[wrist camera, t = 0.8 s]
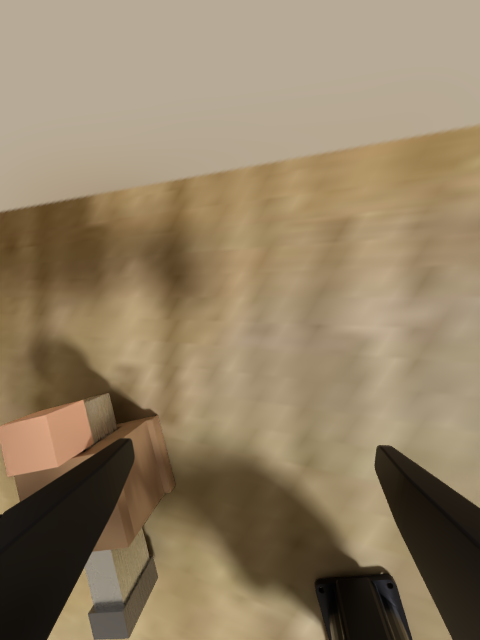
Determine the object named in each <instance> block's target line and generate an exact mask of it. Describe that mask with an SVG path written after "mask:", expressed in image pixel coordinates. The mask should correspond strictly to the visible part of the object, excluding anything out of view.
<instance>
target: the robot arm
mask: <svg viewBox="0 0 480 640" xmlns="http://www.w3.org/2000/svg"><path fill="white" fill-rule="evenodd" d="M134 460H135V453H134V447H133V442H132V439H131V438H119V439H118V440H116V441H114V442H113V443H111V444H110V445H108V446H107V447H105V448H104V449H102V450H100V451H99V452H97V453H96V454H94V455H93V456H91V457H90V458H88V459H86V460H85V461H83V462H82V463H80V464H79V465H77V466H75V467H74V468H72V469H71V470H69V471H68V472H66V473H65V474H63V475H61V476H60V477H58V478H57V479H55V480H54V481H52V482H50V483H49V484H47V485H46V486H44V487H43V488H41V489H40V490H38V491H36V492H35V493H33V494H32V495H30V496H29V497H27V498H25V499H24V500H22V501H21V502H19V503H18V504H16V505H15V506H13V507H11V508H10V509H8V510H7V511H5V512H4V513H3V515H2V514H1V515H0V640H47V639H48V637H49V635H50V633H51V631H52V629H53V627H54V625H55V623H56V621H57V619H58V617H59V615H60V613H61V612H62V610H63V608H64V606H65V604H66V602H67V600H68V598H69V596H70V594H71V592H72V590H73V588H74V586H75V584H76V582H77V581H78V579H79V577H80V575H81V573H82V571H83V569H84V567H85V565H86V563H87V561H88V559H89V557H90V555H91V553H92V551H93V550H94V548H95V546H96V544H97V542H98V540H99V538H100V536H101V534H102V532H103V530H104V528H105V526H106V524H107V522H108V521H109V519H110V517H111V515H112V513H113V511H114V509H115V506H116V504H117V502H118V500H119V497H120V495H121V492H122V490H123V488H124V485H125V483H126V480H127V478H128V476H129V473H130V471H131V468H132V466H133V463H134ZM375 471H376V474H377V476H378V479H379V481H380V484H381V486H382V489H383V492H384V494H385V497H386V499H387V502H388V504H389V507H390V510H391V512H392V515H393V517H394V520H395V522H396V524H397V526H398V529H399V531H400V533H401V535H402V537H403V539H404V541H405V543H406V545H407V547H408V549H409V551H410V553H411V555H412V557H413V559H414V562H415V564H416V566H417V568H418V570H419V572H420V574H421V576H422V578H423V580H424V582H425V584H426V586H427V588H428V590H429V592H430V594H431V596H432V598H433V600H434V602H435V604H436V606H437V608H438V610H439V613H440V615H441V617H442V619H443V621H444V623H445V625H446V627H447V629H448V631H449V633H450V635H451V637H452V639H453V640H480V508H479V507H477V506H476V505H475V504H473V503H472V502H470V501H469V500H467V499H466V498H465V497H463V496H462V495H460V494H459V493H458V492H456V491H455V490H453V489H452V488H450V487H449V486H448V485H446V484H445V483H443V482H442V481H440V480H439V479H438V478H436V477H435V476H433V475H432V474H430V473H429V472H428V471H426V470H425V469H423V468H422V467H420V466H419V465H418V464H416V463H415V462H413V461H412V460H411V459H409V458H408V457H406V456H405V455H403V454H402V453H401V452H399V451H398V450H396V449H395V448H393V447H392V446H389V445H379V446H377V449H376V456H375ZM320 587H322V588H320ZM315 589H316V594H317V597H318V601H319V605H320V608H321V612H322V615H323V619H324V623H325V626H326V630H327V633H328V637H329V640H412V636H411V633H410V630H409V626H408V623H407V619H406V616H405V613H404V609H403V606H402V602H401V599H400V596H399V592H398V589H397V585H396V583H395V581H394V579H393V577H392V576H391V575H389V574H381V575H368V576H354V577H341V578H328V579H318V580H316V581H315Z"/></svg>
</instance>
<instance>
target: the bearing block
mask: <svg viewBox="0 0 480 640" xmlns="http://www.w3.org/2000/svg"><path fill="white" fill-rule="evenodd" d="M117 427H118V430H116V431H115V432H113V433H112V434H110V435H109V436H107V437H106V438H104V439H103V440H101V441H100V442H98V443H97V444H95V445H94V446H92V447H91V448H89V449H88V450H86V451H85V452H80V453H78V454H77V455H75V456H74V457H72V458H71V459H69V460H68V461H66V462H65V463H63V464H62V465H60V466H59V467H55V468H50V469H45V470H40V471H35V472H30V473H25V474H20V475H15V476H14V477H15V481H16V486H17V490H18V495H19V499H20V502H21V501H22V500H24V499H25V498H27V497H29V496H30V495H32V494H33V493H35V492H36V491H38V490H40V489H41V488H43V487H44V486H46V485H47V484H49V483H50V482H52V481H54V480H55V479H57V478H58V477H60V476H61V475H63V474H65V473H66V472H68V471H69V470H71V469H72V468H74V467H75V466H77V465H79V464H80V463H82V462H83V461H85V460H86V459H88V458H90V457H91V456H93V455H94V454H96V453H97V452H99V451H100V450H102V449H104V448H105V447H107V446H108V445H110V444H111V443H113V442H114V441H116V440H118V439H119V438H131V439H132V442H133V447H134V453H135V460H134V463H133V466H132V468H131V471H130V473H129V476H128V478H127V480H126V483H125V485H124V488H123V490H122V492H121V495H120V497H119V500H118V502H117V504H116V506H115V509H114V511H113V513H112V515H111V517H110V519H109V521H108V522H107V524H106V526H105V528H104V530H103V532H102V534H101V536H100V538H99V540H98V542H97V544H96V546H95V548H94V550H93V551H92V552H95V551H103V550H112V549H121V548H128V547H129V546H130V544H131V543H132V541H133V540H134V538H135V537H136V535H137V534H138V532H139V531H140V529H141V528H142V526H143V525H144V523H145V522H146V520H147V519H148V518H149V516H150V515H151V513H152V512H153V510H154V509H155V507H156V506H157V504H158V503H159V501H160V500H161V498H162V497H163V495H164V494H165V493H171V491H172V490H173V488H174V487H175V481H174V477H173V473H172V469H171V465H170V461H169V457H168V453H167V449H166V446H165V442H164V438H163V434H162V430H161V426H160V422H159V418H158V415H156V416H151V417H147V418H142V419H138V420H134V421H129V422H125V423H120V424H117Z"/></svg>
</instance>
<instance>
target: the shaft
mask: <svg viewBox="0 0 480 640" xmlns="http://www.w3.org/2000/svg"><path fill="white" fill-rule="evenodd" d="M83 401H84V405H85V409H86V413H87V417H88V421H89V425H90V430H91V434H92V438H93V442H94V444H92V445H91V446H89V447H88V448H86V449H85V450H83V451H82V452H85V451H86V450H88V449H89V448H91V447H92V446H94V445H95V444H97V443H98V442H100V441H101V440H103V439H104V438H106V437H107V436H109V435H110V434H112V433H113V432H115V431H116V430H118V427H117V423H116V419H115V415H114V411H113V407H112V403H111V399H110V395H109V393H106V394H102V395H98V396H94V397H90V398H86V399H83ZM85 570H86V574H87V579H88V583H89V587H90V591H91V596H92V600H93V604H94V605H93V607H92V608H91V610H90V612H89V613H88V616H89V620H90V624H91V629H92V633H93V637H94V640H97V639H125V638H129V637H130V635H131V633H132V631H133V629H134V627H135V625H136V623H137V621H138V619H139V616H140V614H141V612H142V610H143V608H144V606H145V604H146V602H147V600H148V598H149V595H150V593H151V591H152V589H153V587H154V585H155V583H156V581H157V579H158V575H157V571H156V567H155V563H154V559H153V556H149V553H148V549H147V545H146V541H145V537H144V533H143V529H142V528H141V529H140V531H139V532H138V534H137V535H136V537H135V538H134V540H133V541H132V543H131V544H130V546H129V547H128V548H121V549H112V550H103V551H95V552H92V553H91V555H90V557H89V559H88V561H87V563H86V565H85Z"/></svg>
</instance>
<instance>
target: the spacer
mask: <svg viewBox="0 0 480 640" xmlns="http://www.w3.org/2000/svg"><path fill="white" fill-rule="evenodd" d="M0 443H1V448H2V452H3V457H4V461H5V466H6V470H7V475H8V477H10V476H15V475H20V474H25V473H30V472H35V471H40V470H45V469H50V468H55V467H59V466H60V465H62V464H63V463H65V462H66V461H68V460H69V459H71V458H72V457H74V456H75V455H77V454H78V453H80V452H82V451H83V450H85V449H86V448H88V447H89V446H91V445H92V444H94V442H93V438H92V434H91V430H90V425H89V421H88V417H87V413H86V409H85V405H84V401H83V400H80V401H76V402H72V403H68V404H64V405H61V406H57V407H53V408H49V409H45V410H41V411H38V412H35V413H33V414H30V415H27V416H25V417H22V418H20V419H17V420H14V421H12V422H9V423H6V424H4V425H1V426H0Z"/></svg>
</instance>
